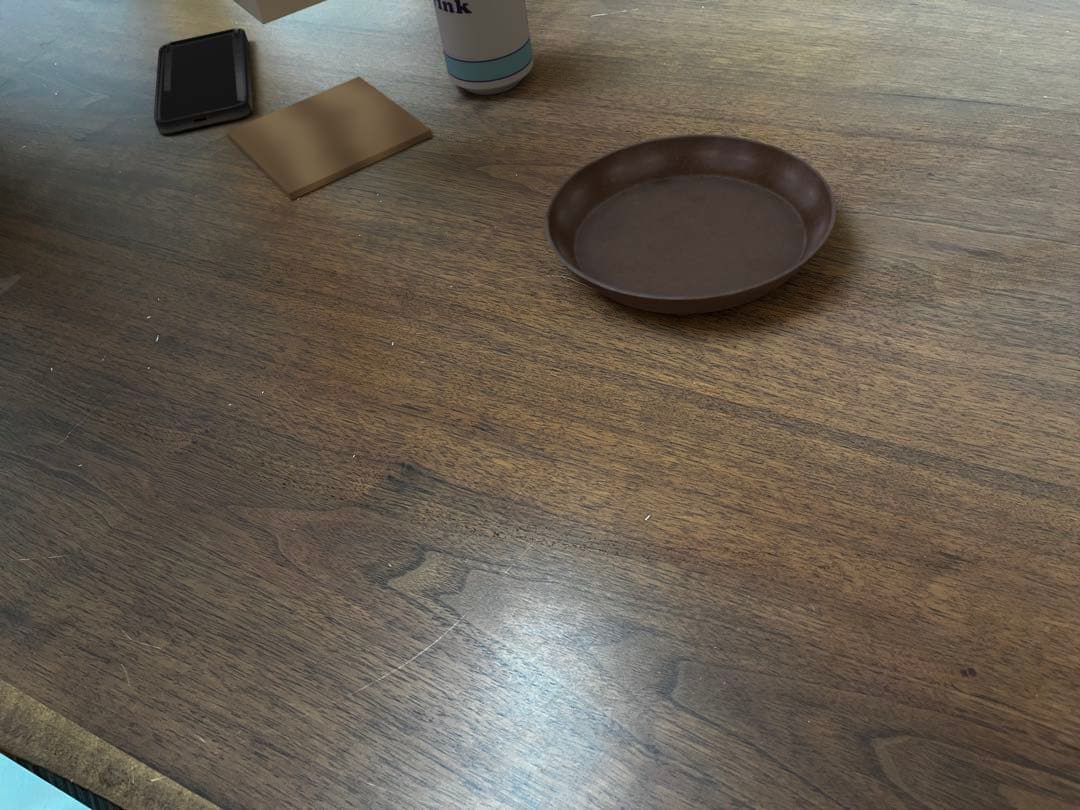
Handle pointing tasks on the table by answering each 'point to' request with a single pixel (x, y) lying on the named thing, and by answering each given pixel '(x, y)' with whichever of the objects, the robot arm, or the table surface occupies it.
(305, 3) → the clock
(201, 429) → the table surface
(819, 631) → the table surface
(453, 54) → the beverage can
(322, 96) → the pad
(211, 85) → the phone
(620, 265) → the plant saucer
